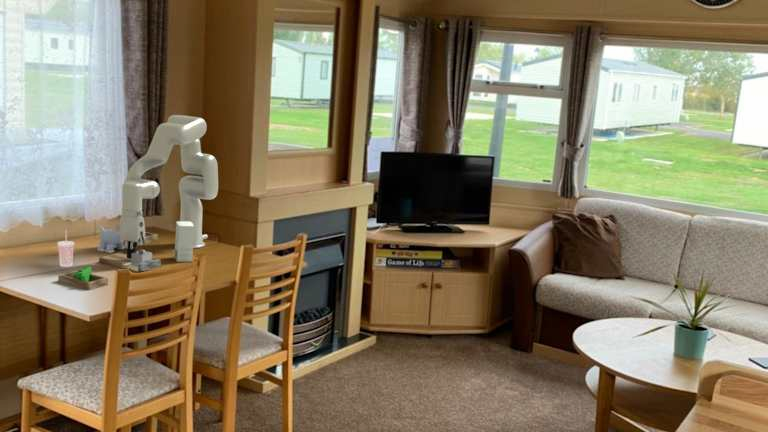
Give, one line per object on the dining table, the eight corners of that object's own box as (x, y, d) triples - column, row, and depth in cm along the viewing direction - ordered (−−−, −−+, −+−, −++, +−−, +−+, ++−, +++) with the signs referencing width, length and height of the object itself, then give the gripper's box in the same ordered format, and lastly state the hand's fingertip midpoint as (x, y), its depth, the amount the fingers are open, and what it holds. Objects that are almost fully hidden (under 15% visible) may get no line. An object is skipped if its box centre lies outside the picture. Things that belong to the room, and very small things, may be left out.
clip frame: (130, 235, 353) (130, 228, 353) (157, 241, 347) (157, 234, 346) (116, 238, 346) (116, 231, 345) (144, 244, 339) (144, 237, 338)
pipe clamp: (80, 278, 281) (80, 266, 280) (91, 278, 282) (91, 266, 281) (73, 287, 270) (73, 275, 269) (84, 288, 271) (84, 275, 270)
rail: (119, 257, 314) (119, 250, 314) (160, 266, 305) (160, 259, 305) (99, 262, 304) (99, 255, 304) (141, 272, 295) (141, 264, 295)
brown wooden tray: (76, 276, 283) (76, 270, 283) (107, 284, 277) (108, 278, 276) (58, 281, 275) (58, 275, 275) (89, 289, 269) (89, 283, 269)
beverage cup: (58, 267, 293) (58, 232, 290) (57, 263, 298) (56, 228, 296) (75, 266, 296) (75, 231, 293) (73, 262, 301) (73, 228, 299)
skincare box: (174, 257, 321) (175, 221, 318) (190, 256, 324) (191, 221, 321) (177, 262, 314) (178, 225, 311) (193, 261, 316) (194, 225, 314)
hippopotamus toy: (121, 255, 318) (122, 232, 317) (91, 250, 322) (91, 228, 321) (137, 250, 329) (137, 228, 327) (107, 245, 333) (107, 223, 331)
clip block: (141, 262, 305) (141, 247, 304) (151, 264, 302) (152, 250, 301) (131, 265, 300) (131, 250, 299) (142, 267, 298) (142, 252, 296)
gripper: (153, 214, 301) (152, 259, 304) (124, 209, 307) (123, 253, 310) (139, 217, 294) (139, 262, 298) (110, 211, 300) (110, 256, 304)
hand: (131, 257), depth 304 cm, fingers closed
